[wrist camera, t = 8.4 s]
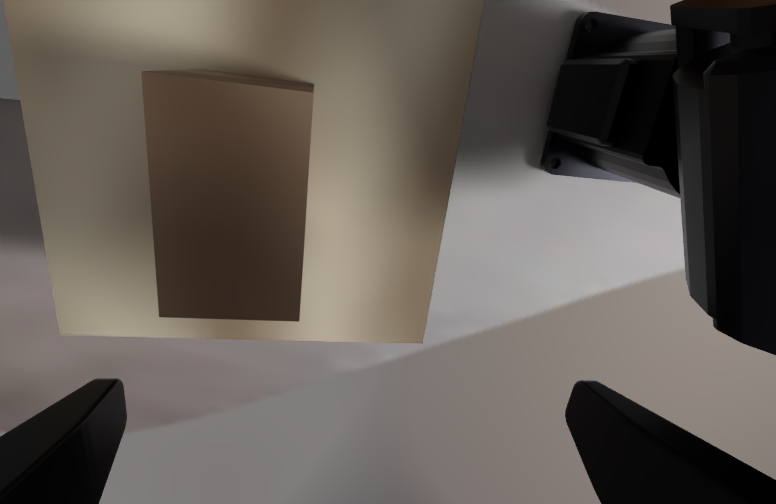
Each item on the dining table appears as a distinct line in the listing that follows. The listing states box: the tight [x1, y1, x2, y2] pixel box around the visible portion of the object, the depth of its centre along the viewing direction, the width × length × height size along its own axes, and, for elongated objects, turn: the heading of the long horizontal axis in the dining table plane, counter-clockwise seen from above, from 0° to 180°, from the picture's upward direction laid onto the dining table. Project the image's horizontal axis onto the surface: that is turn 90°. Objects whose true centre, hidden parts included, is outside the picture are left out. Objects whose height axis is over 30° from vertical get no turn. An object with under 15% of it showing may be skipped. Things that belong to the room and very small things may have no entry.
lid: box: [3, 0, 485, 344], centre depth 12 cm, size 12×12×6 cm
